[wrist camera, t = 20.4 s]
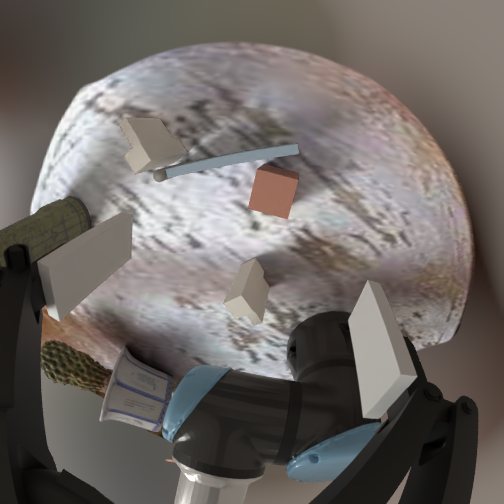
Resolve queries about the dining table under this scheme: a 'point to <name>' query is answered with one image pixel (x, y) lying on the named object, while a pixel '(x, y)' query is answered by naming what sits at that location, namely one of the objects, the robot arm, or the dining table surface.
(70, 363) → the potted plant
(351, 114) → the dining table surface
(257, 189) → the reddish brown block
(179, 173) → the door
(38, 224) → the thermos
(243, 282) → the doorframe
